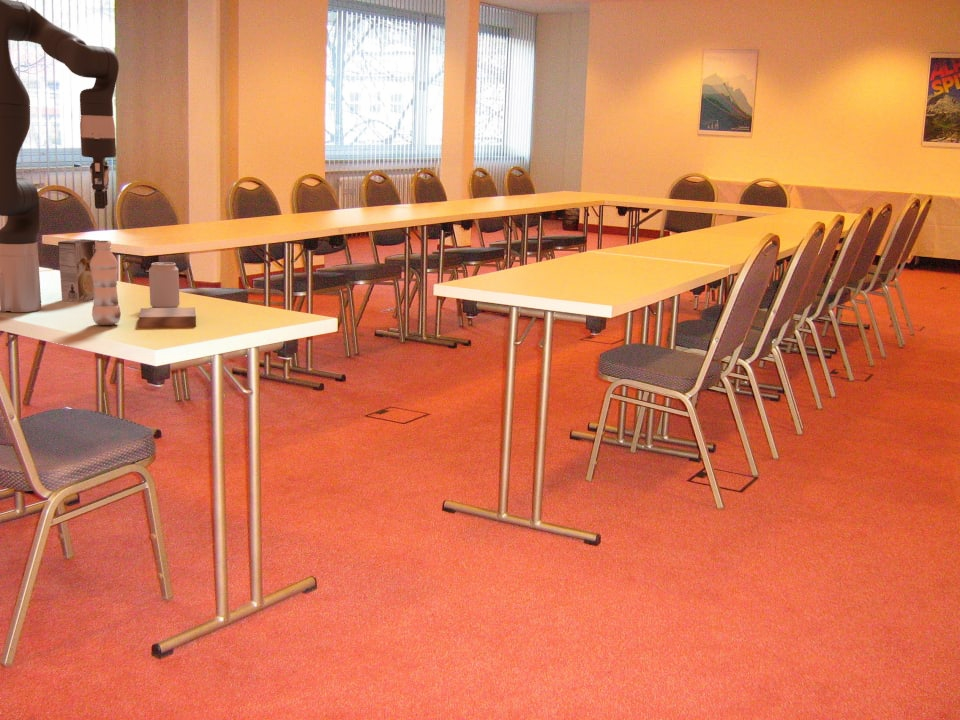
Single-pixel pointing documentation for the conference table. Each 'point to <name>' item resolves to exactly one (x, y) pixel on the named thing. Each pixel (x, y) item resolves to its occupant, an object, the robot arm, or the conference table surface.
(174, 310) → the walnut block
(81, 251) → the coffee box
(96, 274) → the plastic bottle
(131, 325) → the conference table surface
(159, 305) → the can
